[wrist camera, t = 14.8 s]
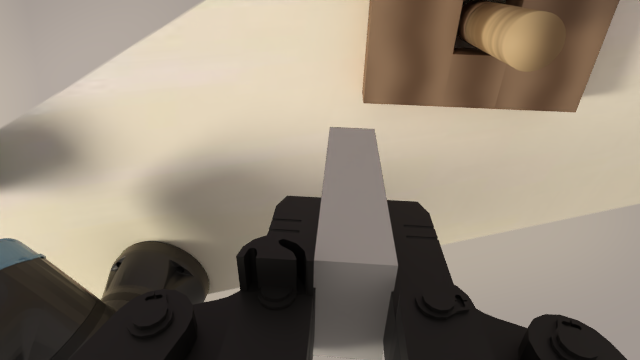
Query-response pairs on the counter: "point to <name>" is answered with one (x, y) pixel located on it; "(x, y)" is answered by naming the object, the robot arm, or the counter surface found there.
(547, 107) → the seat board
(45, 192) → the counter surface
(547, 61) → the oak dowel
